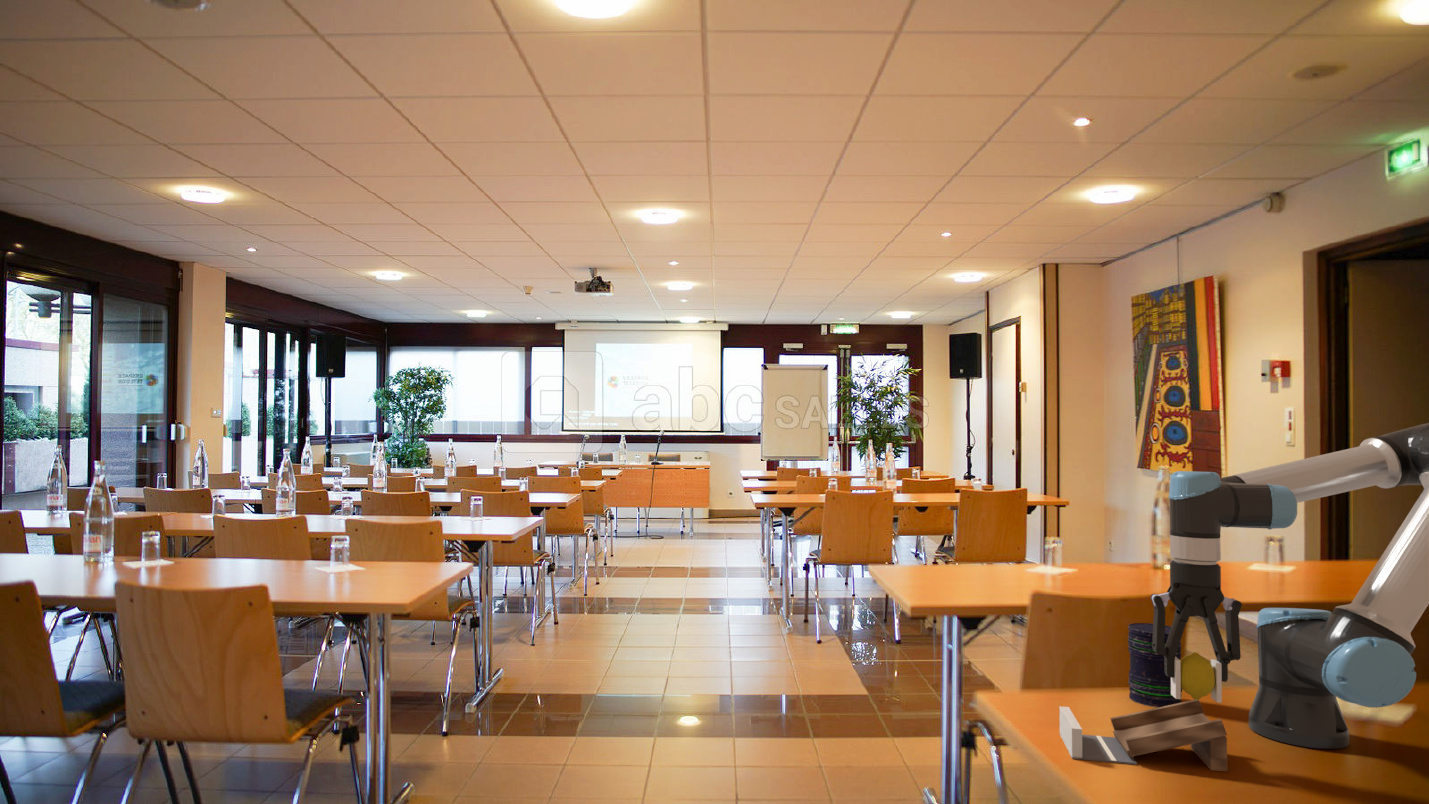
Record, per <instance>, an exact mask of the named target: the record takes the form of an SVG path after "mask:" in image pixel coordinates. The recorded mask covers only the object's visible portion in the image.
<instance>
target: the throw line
mask: <svg viewBox="0 0 1429 804" xmlns="http://www.w3.org/2000/svg"><path fill="white" fill-rule="evenodd" d="M1095 736H1096V737H1097V739H1098V740H1099V742H1100V743H1101V745H1102V746H1103V748H1104V750H1105V751H1106V753H1107V754H1108V756H1109V757H1110V759H1111V761H1116V759H1115V757H1114V756H1113V754H1112V753H1111V751H1110V750H1109V748H1108V747H1107V745H1106V744H1105V742H1104V741H1103V739H1102V737H1101V736H1102V735H1095ZM1111 763H1113V762H1111ZM1115 764H1117V763H1116V762H1115Z"/></svg>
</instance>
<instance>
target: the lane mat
mask: <svg viewBox="0 0 1429 804" xmlns="http://www.w3.org/2000/svg"><path fill="white" fill-rule="evenodd" d="M1096 736H1097V735H1092V734H1091V735H1090V734H1082V758H1081V759H1082V761H1083V760H1084V761H1091V762H1092V761H1093V762H1094V761H1095V762H1104V763H1112V762H1113V763H1115V762H1116V763H1115V764H1124V765H1135V766H1138V763H1137V761H1136V759H1135V758H1134V756H1132V757H1129V756H1128V755H1127V754H1126V752H1125V751H1124V749H1123V748H1122V746H1121V745H1120V743H1119V742H1118V741H1117V739H1116V738H1115V736H1113V737H1112V736H1102V735H1100V736H1101V737H1102V739H1103V741H1104V742H1105V744H1106V745H1107V747H1108V748H1109V750H1110V751H1111V753H1112V754H1113V756H1114V757H1115V759H1116V761H1111V759H1110V757H1109V756H1108V754H1107V753H1106V751H1105V750H1104V748H1103V746H1102V745H1101V743H1100V742H1099V740H1098V739H1097V737H1096ZM1060 737H1062V736H1060ZM1077 758H1078V757H1077ZM1071 759H1073V760H1081V759H1079V758H1078V759H1076V758H1075V759H1074V758H1072V757H1071Z"/></svg>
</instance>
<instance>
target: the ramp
mask: <svg viewBox="0 0 1429 804" xmlns="http://www.w3.org/2000/svg"><path fill="white" fill-rule="evenodd" d="M1109 719H1110V722H1111V725H1112V728H1113V730H1112V733H1113V737H1115V738H1116V739H1117V741H1118V742H1119V743H1120V745H1121V746H1122V748H1123V749H1124V751H1125V752H1126V754H1127V755H1128V756H1129V757H1135V756H1141V755H1146V754H1149V753H1154V752H1161V751H1165V750H1170V749H1174V748H1178V747H1179V748H1180V747H1185V746H1188V745H1190V749H1191V750H1192V751H1193V752H1194V753H1195V754H1196V756H1197V757H1199V758H1200V760H1201V761H1202V762H1203V763H1204V764H1205V765H1206V766H1207V768H1208V769H1209V770H1211V771H1219V772H1228V738H1227V737H1226V736H1228V734H1227V731H1226V728H1225V725H1224V723H1223V720H1222V719H1221V718H1217V719H1212V720H1210V719H1209V718H1208V717H1207V716H1206V715H1205V713H1204V710H1203V707H1202V705H1201V702H1200V699H1199V700H1194V699H1191V700H1187V701H1182V702H1181V703H1177V704H1172V705H1168V706H1163V707H1153V708H1150V709H1145V710H1141V711H1135V712H1132V713H1128V714H1123V715H1117V716H1114V717H1110V718H1109Z"/></svg>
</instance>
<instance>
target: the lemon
mask: <svg viewBox="0 0 1429 804" xmlns="http://www.w3.org/2000/svg"><path fill="white" fill-rule="evenodd" d="M1180 673H1181V688H1182V691H1184V692H1185V693H1186V694H1187V695H1189V696H1190V697H1191V698H1192V700H1199V701H1200V699H1202V698H1203V697H1206V696H1208V695H1211V691H1212V690H1213V688H1214V684H1215V675H1214V670H1213V667H1212V665H1211V661H1209V660H1208V659H1207V658H1205V657H1204V656H1203V655H1200V654H1199V652H1197V651H1196V652H1192V653H1190V654H1187V655H1185V656H1183V657H1181V658H1180Z"/></svg>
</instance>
